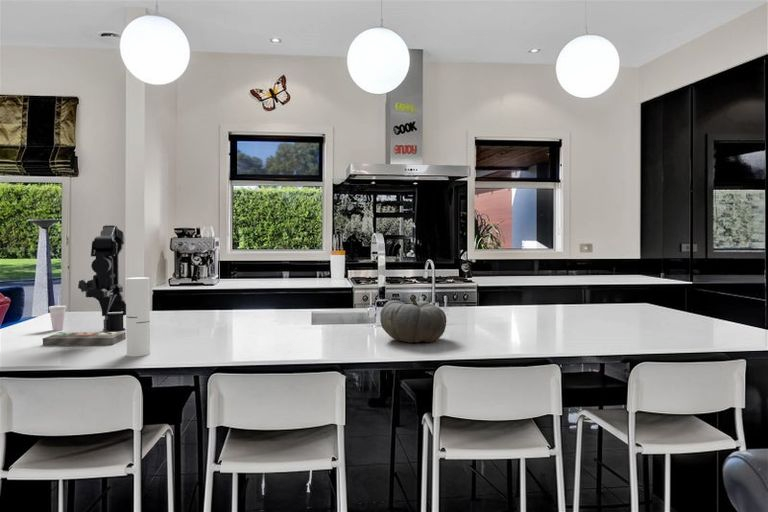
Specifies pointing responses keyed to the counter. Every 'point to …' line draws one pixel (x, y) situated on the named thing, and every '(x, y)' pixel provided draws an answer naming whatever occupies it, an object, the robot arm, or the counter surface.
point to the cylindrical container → (138, 316)
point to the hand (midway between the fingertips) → (105, 314)
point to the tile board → (85, 339)
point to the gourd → (413, 321)
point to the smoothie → (57, 316)
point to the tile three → (108, 334)
